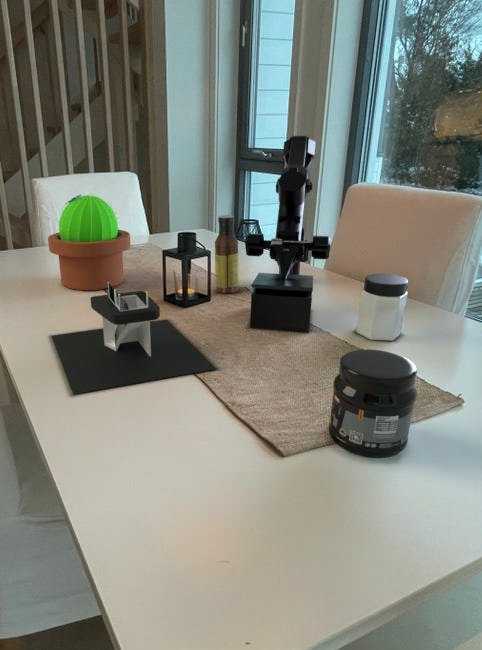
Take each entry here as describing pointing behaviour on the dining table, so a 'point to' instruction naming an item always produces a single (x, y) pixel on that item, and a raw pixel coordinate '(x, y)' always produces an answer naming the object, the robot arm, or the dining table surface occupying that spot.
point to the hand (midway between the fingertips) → (283, 278)
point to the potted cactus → (89, 245)
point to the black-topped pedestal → (126, 346)
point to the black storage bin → (280, 309)
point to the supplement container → (373, 403)
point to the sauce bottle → (226, 257)
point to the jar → (382, 307)
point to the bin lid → (283, 282)
